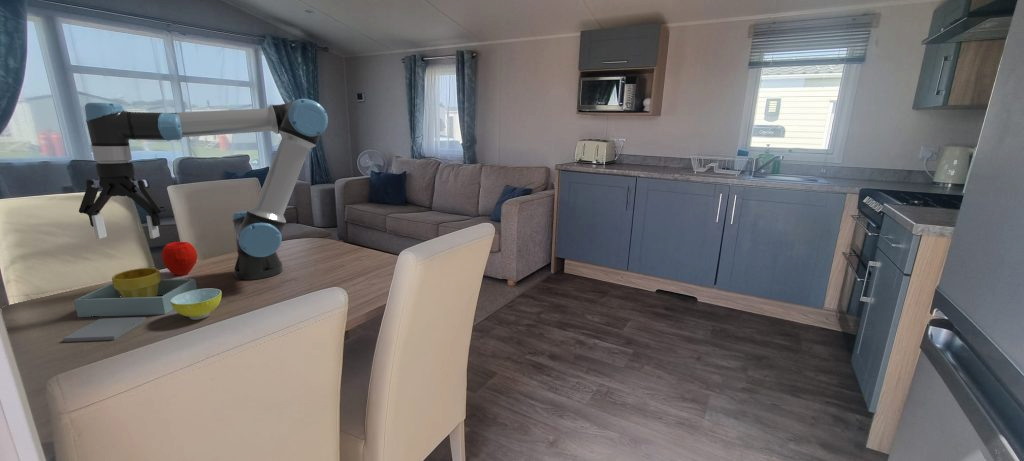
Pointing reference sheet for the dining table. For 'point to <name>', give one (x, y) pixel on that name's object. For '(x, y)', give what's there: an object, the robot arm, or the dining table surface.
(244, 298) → the dining table surface
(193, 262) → the apple
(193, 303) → the bowl
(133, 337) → the dining table surface
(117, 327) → the plate
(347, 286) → the dining table surface
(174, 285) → the crate
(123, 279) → the plant pot
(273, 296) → the dining table surface
